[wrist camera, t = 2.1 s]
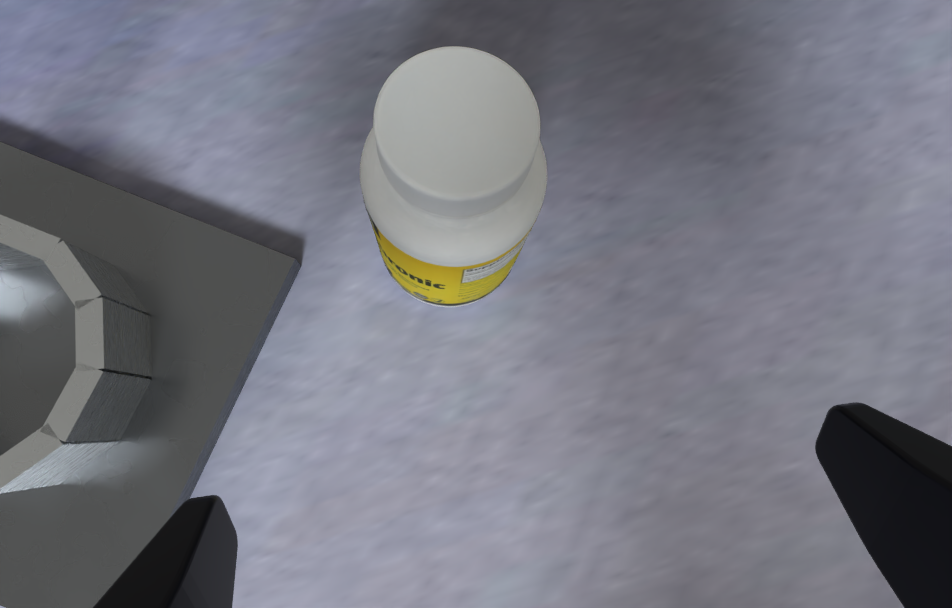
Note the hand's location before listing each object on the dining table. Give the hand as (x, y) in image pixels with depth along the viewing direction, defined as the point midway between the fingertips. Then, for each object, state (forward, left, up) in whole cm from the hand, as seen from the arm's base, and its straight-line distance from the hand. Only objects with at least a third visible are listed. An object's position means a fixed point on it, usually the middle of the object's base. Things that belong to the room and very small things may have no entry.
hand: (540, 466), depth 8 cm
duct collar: (-3, +16, -13) cm, 21 cm away
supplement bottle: (+7, +4, -14) cm, 16 cm away
